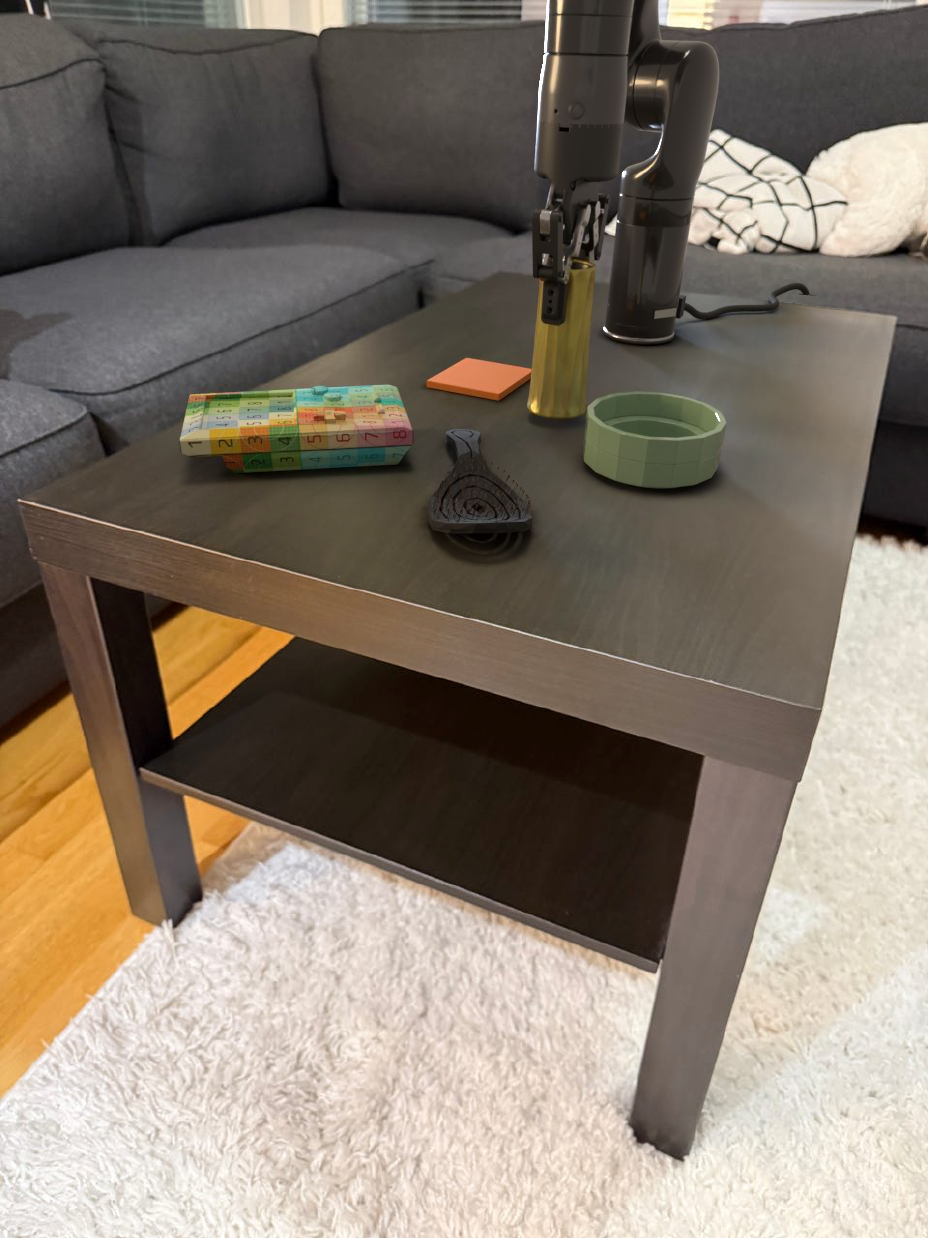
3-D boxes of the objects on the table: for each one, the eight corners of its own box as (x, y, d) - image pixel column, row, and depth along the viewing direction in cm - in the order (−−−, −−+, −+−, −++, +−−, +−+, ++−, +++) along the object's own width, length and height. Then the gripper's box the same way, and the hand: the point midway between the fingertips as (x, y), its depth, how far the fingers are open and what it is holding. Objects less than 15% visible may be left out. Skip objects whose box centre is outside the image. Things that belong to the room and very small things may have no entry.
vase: (583, 422, 87) (598, 272, 79) (522, 416, 88) (532, 268, 80) (588, 402, 92) (603, 259, 84) (531, 397, 93) (540, 255, 85)
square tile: (466, 363, 105) (466, 357, 105) (534, 375, 102) (535, 369, 102) (426, 387, 98) (426, 380, 98) (498, 401, 95) (499, 393, 94)
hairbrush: (502, 408, 85) (545, 510, 63) (501, 444, 87) (542, 556, 65) (417, 409, 84) (431, 513, 63) (418, 446, 86) (432, 559, 64)
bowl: (607, 432, 88) (612, 383, 85) (728, 456, 83) (738, 405, 80) (563, 476, 78) (568, 423, 76) (696, 505, 74) (707, 450, 71)
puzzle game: (413, 420, 76) (177, 430, 73) (413, 469, 79) (185, 482, 76) (397, 377, 86) (187, 385, 83) (398, 423, 88) (195, 432, 85)
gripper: (570, 110, 82) (555, 296, 92) (507, 118, 71) (498, 328, 81) (646, 115, 79) (623, 306, 89) (593, 123, 69) (573, 340, 78)
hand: (564, 315), depth 85 cm, fingers closed on vase, 5 cm apart
